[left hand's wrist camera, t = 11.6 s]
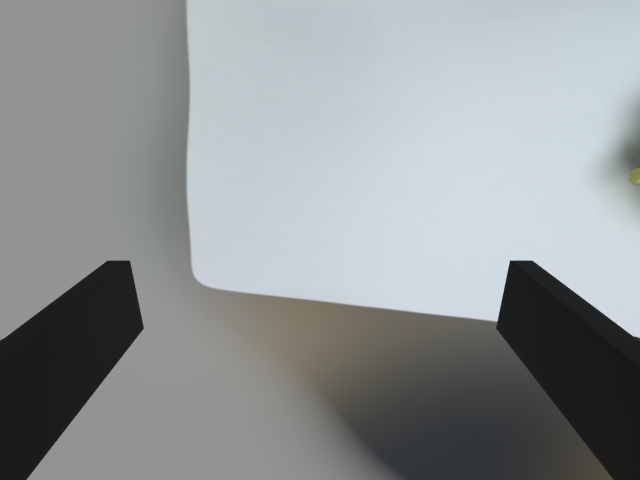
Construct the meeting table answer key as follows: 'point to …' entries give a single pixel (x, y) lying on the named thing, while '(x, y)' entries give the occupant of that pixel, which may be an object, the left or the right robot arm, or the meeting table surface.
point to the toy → (635, 176)
